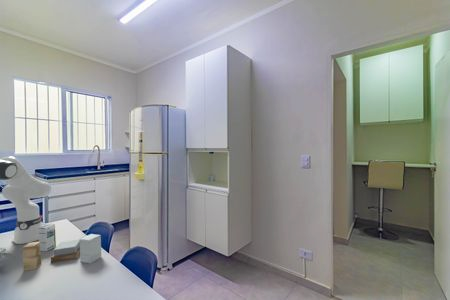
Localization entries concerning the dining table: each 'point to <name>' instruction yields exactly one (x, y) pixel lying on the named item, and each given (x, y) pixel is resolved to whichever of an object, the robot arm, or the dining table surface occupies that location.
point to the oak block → (31, 256)
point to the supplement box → (90, 248)
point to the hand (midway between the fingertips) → (4, 258)
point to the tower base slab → (65, 257)
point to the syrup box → (47, 237)
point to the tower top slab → (67, 247)
